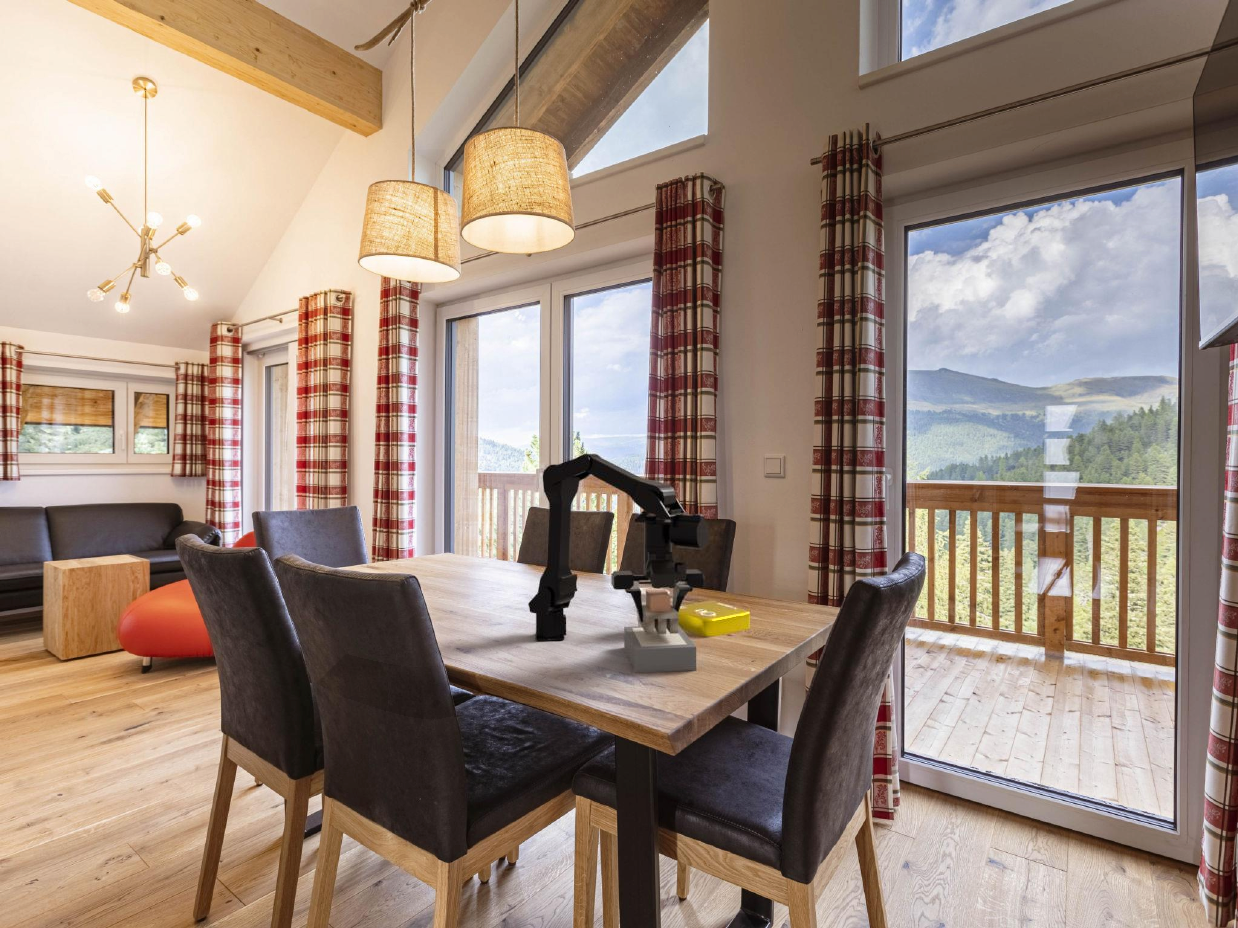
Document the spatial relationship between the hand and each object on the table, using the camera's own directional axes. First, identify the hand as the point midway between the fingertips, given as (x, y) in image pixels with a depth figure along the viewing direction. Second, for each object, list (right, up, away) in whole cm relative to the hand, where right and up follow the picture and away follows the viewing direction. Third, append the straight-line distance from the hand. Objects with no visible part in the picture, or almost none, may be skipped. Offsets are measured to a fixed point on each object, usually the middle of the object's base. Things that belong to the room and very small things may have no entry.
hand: (657, 620), depth 128 cm
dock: (0, -8, 0) cm, 8 cm away
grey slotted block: (0, -1, 0) cm, 1 cm away
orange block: (0, +3, 0) cm, 3 cm away
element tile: (+14, -8, +25) cm, 30 cm away
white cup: (0, -8, +18) cm, 20 cm away
